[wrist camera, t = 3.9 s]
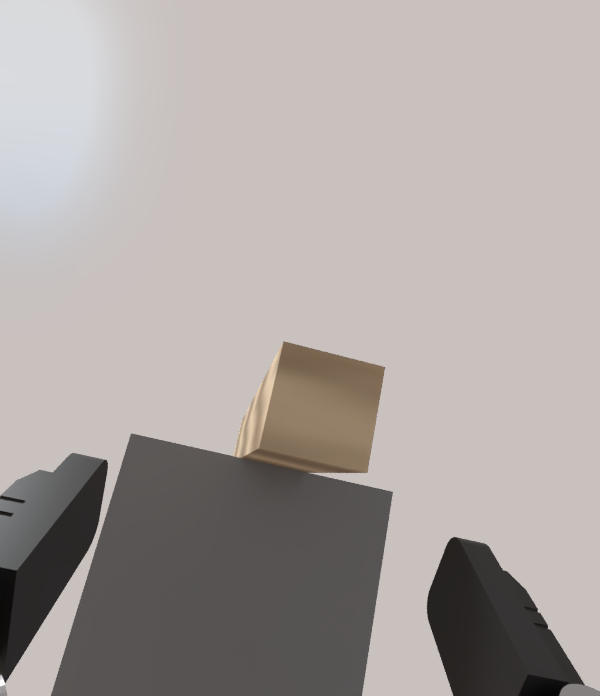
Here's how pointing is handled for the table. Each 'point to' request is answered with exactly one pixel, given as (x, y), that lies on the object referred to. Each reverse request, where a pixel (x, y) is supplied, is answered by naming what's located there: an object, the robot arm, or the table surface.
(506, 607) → the robot arm
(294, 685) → the charcoal pedestal
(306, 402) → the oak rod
